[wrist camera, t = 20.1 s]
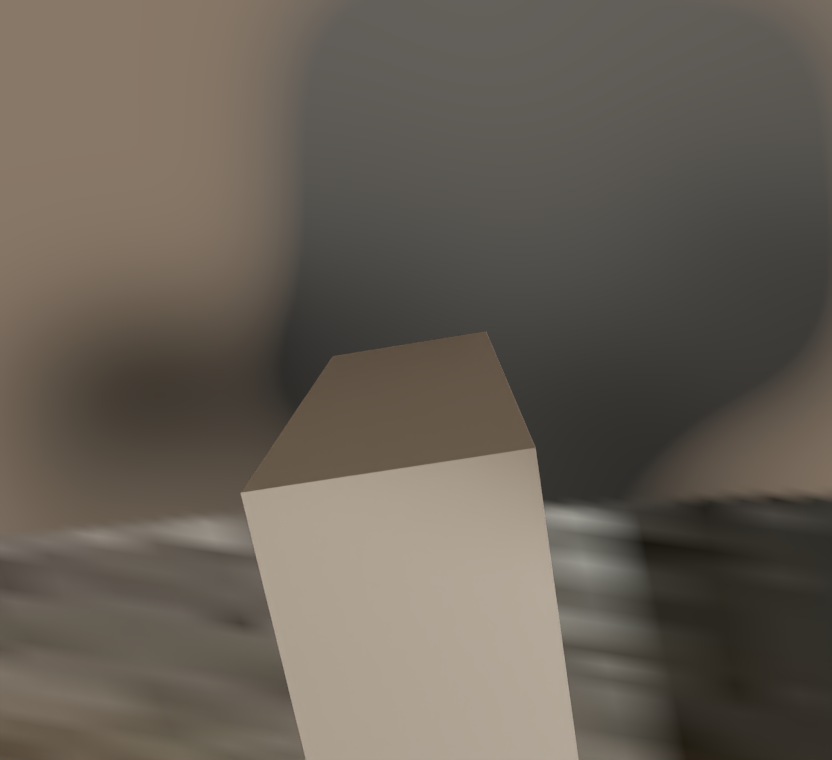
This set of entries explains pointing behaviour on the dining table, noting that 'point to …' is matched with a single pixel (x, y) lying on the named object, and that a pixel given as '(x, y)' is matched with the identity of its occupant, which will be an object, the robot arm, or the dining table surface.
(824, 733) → the dining table surface
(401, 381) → the white and wooden mallet
